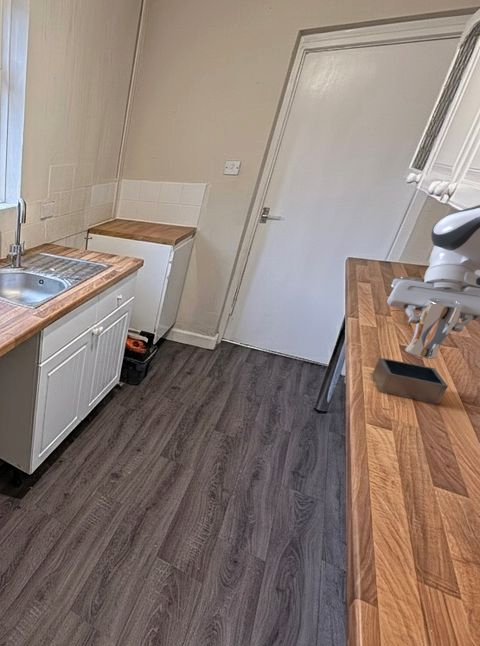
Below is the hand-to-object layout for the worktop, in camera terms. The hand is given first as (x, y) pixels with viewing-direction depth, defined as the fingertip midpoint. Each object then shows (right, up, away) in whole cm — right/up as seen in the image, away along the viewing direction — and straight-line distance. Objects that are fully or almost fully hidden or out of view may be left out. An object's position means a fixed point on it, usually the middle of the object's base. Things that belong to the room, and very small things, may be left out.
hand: (434, 326), depth 109 cm
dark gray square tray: (0, -18, +8) cm, 20 cm away
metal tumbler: (0, -8, +4) cm, 9 cm away
